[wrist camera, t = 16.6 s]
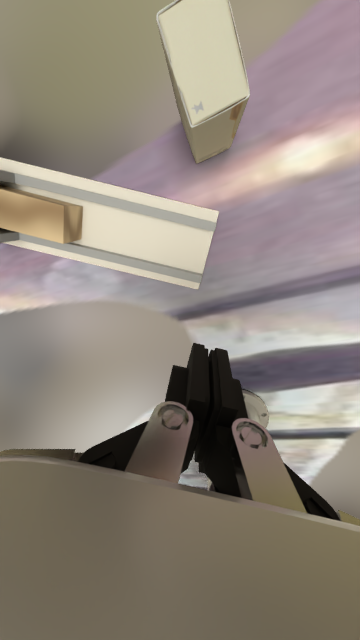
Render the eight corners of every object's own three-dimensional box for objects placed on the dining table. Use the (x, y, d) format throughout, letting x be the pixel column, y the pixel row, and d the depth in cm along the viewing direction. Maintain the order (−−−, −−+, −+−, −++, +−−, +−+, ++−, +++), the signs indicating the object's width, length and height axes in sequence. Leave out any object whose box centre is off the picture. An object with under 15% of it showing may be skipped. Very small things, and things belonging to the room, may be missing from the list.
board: (198, 287, 33) (197, 304, 27) (-11, 237, 33) (-61, 243, 26) (218, 211, 29) (223, 211, 23) (-21, 152, 28) (-85, 135, 22)
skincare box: (231, 147, 26) (254, 102, 15) (195, 165, 27) (191, 134, 16) (213, 77, 24) (224, -38, 13) (174, 99, 25) (153, 11, 14)
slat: (81, 239, 31) (63, 243, 27) (-10, 216, 30) (-42, 216, 26) (83, 206, 29) (63, 205, 25) (-14, 181, 29) (-49, 176, 25)
